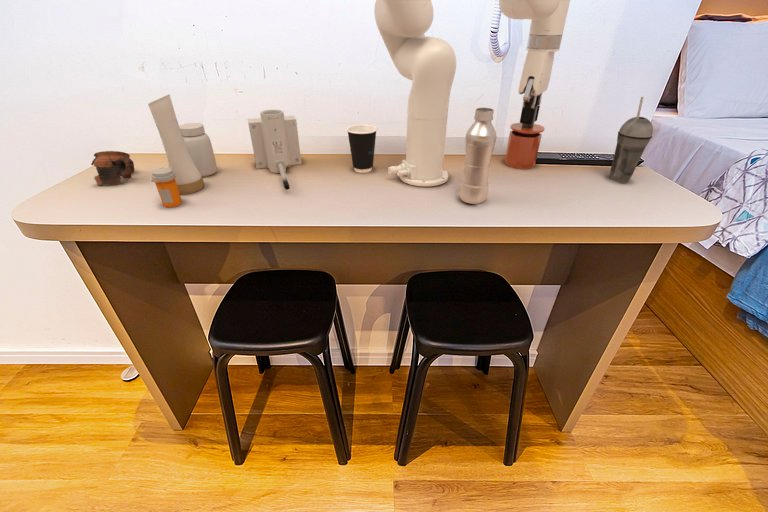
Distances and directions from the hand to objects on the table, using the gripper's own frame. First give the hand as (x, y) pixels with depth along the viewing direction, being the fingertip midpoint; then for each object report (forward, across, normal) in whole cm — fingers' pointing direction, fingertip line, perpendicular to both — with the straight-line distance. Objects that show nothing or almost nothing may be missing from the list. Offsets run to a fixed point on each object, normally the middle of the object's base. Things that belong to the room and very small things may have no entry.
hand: (528, 121), depth 102 cm
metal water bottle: (+12, +31, -1) cm, 33 cm away
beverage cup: (+12, -3, +25) cm, 28 cm away
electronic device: (+12, +46, -47) cm, 67 cm away
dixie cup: (+12, +30, -33) cm, 46 cm away
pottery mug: (+11, +71, -79) cm, 107 cm away
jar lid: (+2, 0, 0) cm, 2 cm away
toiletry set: (+12, +63, -61) cm, 88 cm away
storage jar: (+12, 0, 0) cm, 12 cm away
